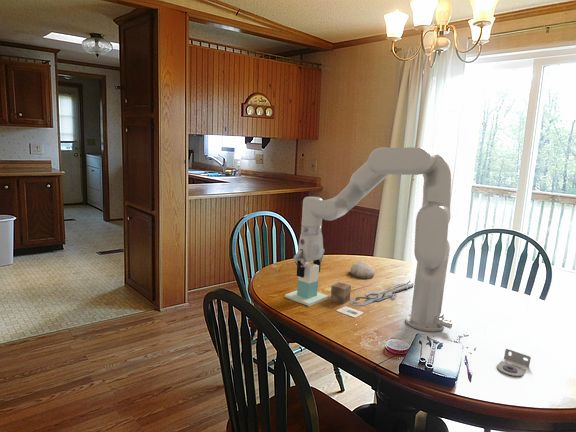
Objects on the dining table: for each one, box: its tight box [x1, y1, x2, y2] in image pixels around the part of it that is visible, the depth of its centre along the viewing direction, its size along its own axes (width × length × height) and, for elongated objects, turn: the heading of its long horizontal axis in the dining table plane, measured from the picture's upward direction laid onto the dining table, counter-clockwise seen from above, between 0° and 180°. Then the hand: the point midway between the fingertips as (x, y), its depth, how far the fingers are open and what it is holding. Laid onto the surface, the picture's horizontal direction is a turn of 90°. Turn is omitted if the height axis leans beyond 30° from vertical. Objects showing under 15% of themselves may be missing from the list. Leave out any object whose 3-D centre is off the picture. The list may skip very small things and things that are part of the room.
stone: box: [349, 260, 376, 279], centre depth 195 cm, size 13×10×8 cm
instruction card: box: [335, 305, 365, 319], centre depth 151 cm, size 8×6×1 cm
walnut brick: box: [329, 281, 352, 305], centre depth 162 cm, size 6×6×6 cm
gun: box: [349, 280, 414, 307], centre depth 171 cm, size 39×2×10 cm
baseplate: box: [284, 289, 330, 307], centre depth 163 cm, size 12×12×1 cm
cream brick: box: [297, 262, 320, 284], centre depth 161 cm, size 6×6×6 cm
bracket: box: [496, 348, 532, 377], centre depth 118 cm, size 7×10×4 cm, turn 138°
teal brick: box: [296, 279, 319, 299], centre depth 162 cm, size 6×6×6 cm
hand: (308, 273), depth 161 cm, fingers open, 9 cm apart
